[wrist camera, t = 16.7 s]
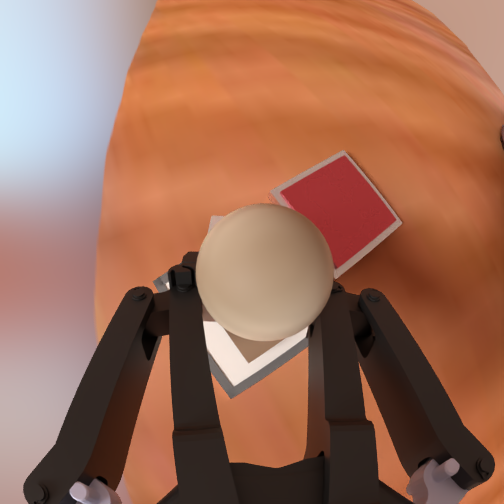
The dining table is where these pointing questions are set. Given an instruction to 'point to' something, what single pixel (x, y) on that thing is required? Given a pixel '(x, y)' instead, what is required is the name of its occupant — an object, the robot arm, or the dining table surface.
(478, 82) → the dining table surface
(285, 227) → the stamp
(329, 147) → the dining table surface
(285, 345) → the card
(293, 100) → the dining table surface
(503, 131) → the flowerpot
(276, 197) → the ink pad
